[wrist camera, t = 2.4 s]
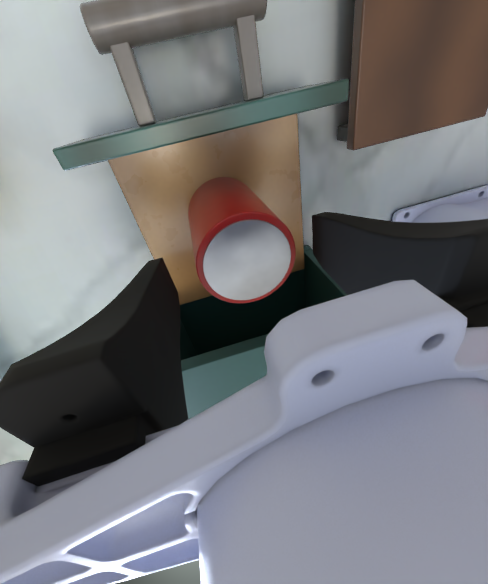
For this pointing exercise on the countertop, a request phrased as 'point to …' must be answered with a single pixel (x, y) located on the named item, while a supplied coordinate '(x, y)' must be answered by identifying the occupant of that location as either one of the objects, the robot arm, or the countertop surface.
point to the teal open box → (241, 334)
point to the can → (238, 242)
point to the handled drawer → (197, 129)
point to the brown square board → (415, 68)
